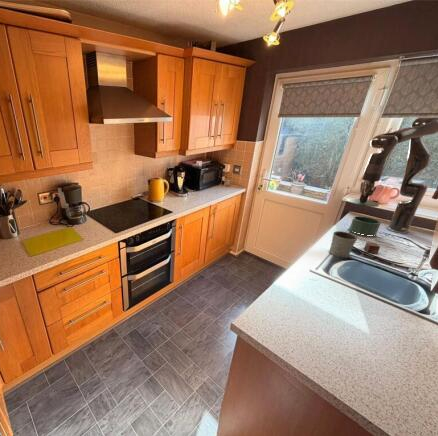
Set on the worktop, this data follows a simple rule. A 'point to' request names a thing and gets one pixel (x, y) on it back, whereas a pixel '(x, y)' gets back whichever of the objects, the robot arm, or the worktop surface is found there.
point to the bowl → (360, 203)
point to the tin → (364, 226)
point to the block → (372, 247)
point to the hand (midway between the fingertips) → (362, 200)
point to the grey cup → (342, 244)
